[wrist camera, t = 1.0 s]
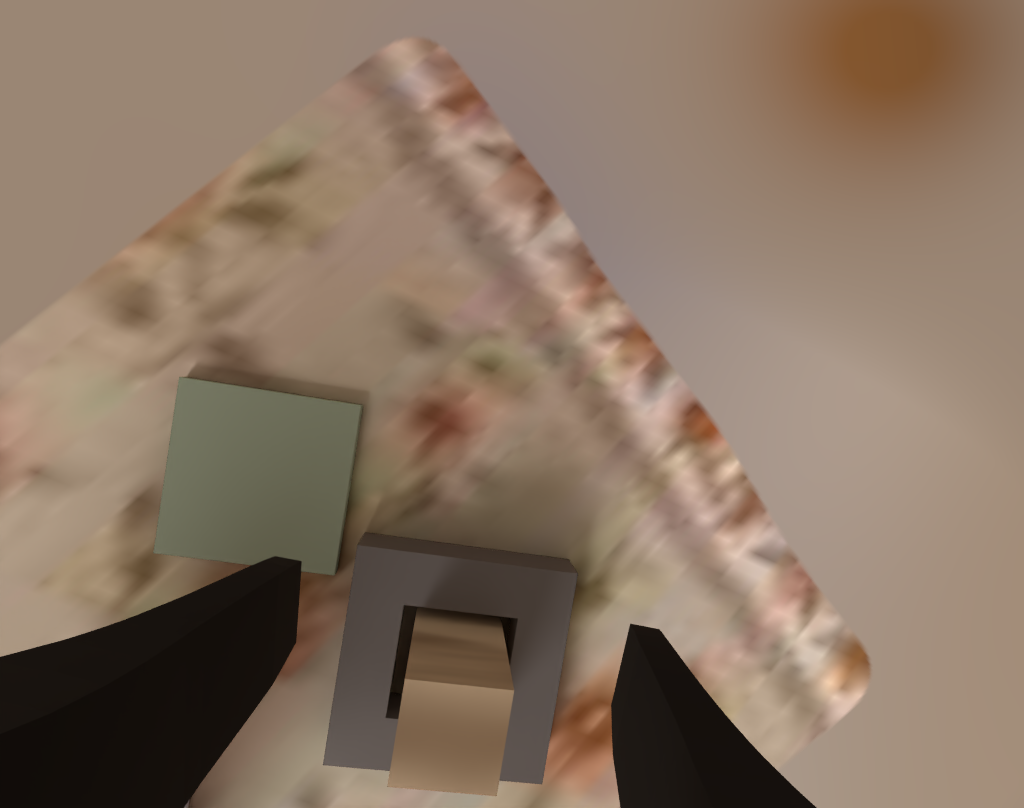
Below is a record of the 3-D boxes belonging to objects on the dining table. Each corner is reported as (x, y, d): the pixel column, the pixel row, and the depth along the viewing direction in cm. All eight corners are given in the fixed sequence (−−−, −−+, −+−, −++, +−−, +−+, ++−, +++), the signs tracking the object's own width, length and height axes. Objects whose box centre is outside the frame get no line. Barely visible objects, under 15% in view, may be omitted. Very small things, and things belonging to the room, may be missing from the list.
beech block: (486, 690, 27) (496, 796, 20) (405, 681, 27) (387, 786, 20) (499, 611, 27) (514, 690, 20) (417, 601, 27) (404, 679, 20)
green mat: (337, 570, 26) (334, 575, 26) (160, 548, 25) (153, 553, 25) (363, 404, 26) (361, 405, 26) (185, 377, 25) (179, 377, 25)
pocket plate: (535, 755, 28) (542, 784, 26) (332, 736, 27) (322, 765, 25) (569, 559, 27) (577, 573, 25) (365, 532, 26) (357, 545, 24)
